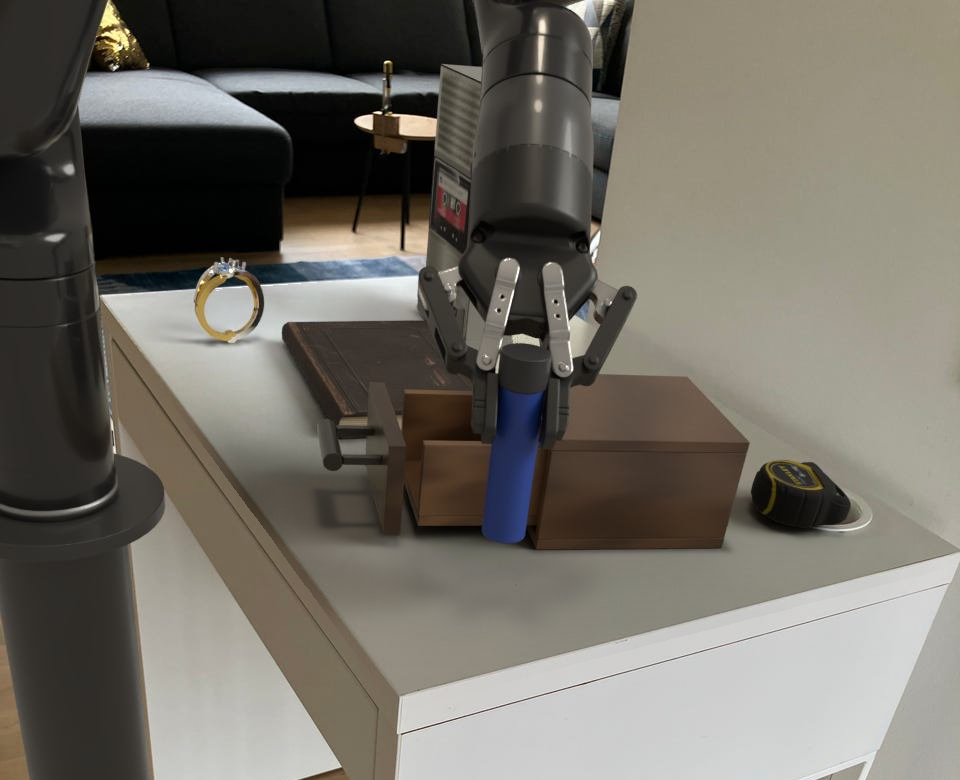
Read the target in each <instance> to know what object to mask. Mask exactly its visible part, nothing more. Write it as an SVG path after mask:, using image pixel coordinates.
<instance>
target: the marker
mask: <svg viewBox="0 0 960 780" xmlns="http://www.w3.org/2000/svg"><path fill="white" fill-rule="evenodd" d="M551 358H552V355H551V353H550V351H548V350H547V349H545V348H543V347H540V345H536V344H532V343H524V342H515V343H514V342H513V344H507V345H505V346H503V347H502V348H501V350H500V352H499V358H498V369H497V373H499V386H498V405H497V424H496V434H495V439H494V442H493V444H492V445H491V453H490V462H489V471H488V480H487V489H486V497H485V506H484V515H483V524H482V526H481V533H482V535H483V536H484V537H485V538H486V539H488V540H489V541H492V542H495V543H498V544H515V543H519V542H521V541H522V540H523V539H524V538H525V537H526V531H527V529H526V524H527V517H528V510H529V503H530V496H531V489H532V481H533V474H534V467H535V460H536V453H537V446H538V439H539V432H540V424H541V417H542V410H543V403H544V396H545V390H546V389H547V385H548V379H549V373H550V365H551Z"/></svg>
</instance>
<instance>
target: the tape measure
mask: <svg viewBox="0 0 960 780" xmlns="http://www.w3.org/2000/svg"><path fill="white" fill-rule="evenodd" d="M750 495H751V501H752V505H753V506H754V507H755V508H756V510H757V511H759V512H760V513H761V514H763V515H764V516H765V517H766V518H768V519H770V520H772V521H775V522H776V523H778V524H782V525H786V526H788V527H789V526H790V527H795V528H801V529H806V528H807V529H808V528H816V527H822V526H834V525H838V524H841V523H843V522H844V521H846V520H847V518H848V515H849V513H850V510H851V508H852V503H851V500H850V498H849V497H848V495H847V494H846V493H845V491H844V490H843V489H842V488H841V487H839V486H838V485H837V484H836V483H835V482H834V481H833V480H832V479H831V478H830V477H829V475H828V474H826V473H825V472H824V471H823V470H822V469H821V467H820V466H819V465H818V464H817V463H815V462H813V461H803V462H797V461H793V460H789V459H775V460H772V461H771V460H770V461H768V462H765V463H764V464H762V466H761V467H760V468H759V470H758V471H757V472H756V473H755V475H754V478H753V481H752V484H751V489H750Z"/></svg>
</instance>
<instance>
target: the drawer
mask: <svg viewBox="0 0 960 780" xmlns="http://www.w3.org/2000/svg"><path fill="white" fill-rule="evenodd" d="M472 396H473V391H450V390H410V389H404V393H403V408H402V423H401V429H400V426H399V423H398V420H397V417H396V414H395V412H394V409H393V406H392V403H391V400H390V397H389V394H388V391H387V388H386V385H385V382H369V396H368V417H367V426H361V425H336V426H335V423H334V422H333V421H332V420H330V419H329V418H323V419H321V420H319V421H318V422H317V424H316V432H317V437H318V438H317V439H318V443H319V449H320V453H321V459H322V464H323V467H324V468H325V469H326V470H327V471H330V472H336V471H339V470H340V469H341V468H342V467H343V466H365V468H366V473H367V476H368V480H369V484H370V488H371V492H372V496H373V500H374V504H375V507H376V512H377V516H378V519H379V524H380V527H381V532H382V535H383V536H400V535H401V527H402V513H403V501H404V486H405V489H406V492H407V496H408V498H409V502H410V505H411V508H412V511H413V514H414V517H415V522H416V524H417V526H418V527H448V526H449V527H457V526H459V527H460V526H461V527H463V526H465V527H468V526H469V527H473V526H476V527H477V526H481V527H482V524H483V515H484V506H485V497H486V489H487V480H488V471H489V462H490V453H491V445H492V444H481V436H482V434H476V433H473V430H472V427H471V413H472ZM339 435H346V436H367V438H365V441H366V442H365V454H364V453H362V454H357V453H344V454H343V453H342V450H341V449H342V448H341V445H340V439H339ZM547 455H548V449H541V431H540V432H539V439H538V446H537V453H536V460H535V467H534V474H533V481H532V489H531V496H530V503H529V510H528V517H527V524H526V525H537V520H538V514H539V507H540V501H541V494H542V487H543V481H544V474H545V468H546V461H547Z"/></svg>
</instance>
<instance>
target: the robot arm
mask: <svg viewBox="0 0 960 780" xmlns="http://www.w3.org/2000/svg"><path fill="white" fill-rule="evenodd" d="M471 1H472V6H473V9H474V15H475V21H476V26H477V30H478V31H477V32H478V36H479V43H480V49H481V50H480V51H481V60H482V61H481V62H482V64H481V67H482V75H481V92H480V108H479V116H478V121H477V125H476V130H475V136H474V143H473V157H472V162H471V166H470V175H471V191H470V207H469V224H468V240H467V248H466V250H465V252H464V253H463V255H462V256H461V258H460V260H459V263H458V266H456V267H453V268H449V269H446V270H443V271H439V272H437V270H436V269H435V268H433V267H426V266H424V267H422V268H421V269H420V270H419V272H418V276H417V293H416V295H417V301H418V300H419V303H420V306H421V308H422V311H423V313H424V316H425V317H424V316H423V317H424V318H425V320H426V321H427V323H428V326H429V329H430V331H431V334H432V336H433V339H434V341H435V344H436V346H437V349H438V351H439V354H440V357H441V359H442V362H443V364H444V367H445V369H446V371H447V372H449V373H450V374H461V375H464V376H466V377H467V378H469V379H470V381H471V382H472V385H473V396H472V413H471V427H472V430H473V433H476V434H482V436H481V444H493V442H494V439H495V434H496V424H497V405H498V386H499V373H498V372H497V364H498V361H499V357H500V348H501V344H502V340H503V336H504V335H505V336H512V337H513V336H517V335H518V336H519V335H525V336H527V337H530V338H532V339H538V342H539V346H540V347H543V348H545V349H547V350H548V351H550V353H551V355H552V358H551V365H550V373H549V379H548V385H547V389H546V390H545V396H544V403H543V410H542V424H541V449H553V447H554V445H555V443H556V440H558V441H561V440H562V438H563V436H564V434H565V432H566V429H567V427H568V425H569V406H570V388H572V387H574V386H577V385H582V386H590V385H592V384H593V383H594V382H595V380H596V378H597V376H598V374H600V372H601V370H602V368H603V366H604V365H605V363H606V360H607V359H608V357H609V355H610V353H611V351H612V349H613V347H614V345H615V343H616V342H617V339H618V337H619V335H620V333H621V332H622V330H623V327H624V326H625V324H626V322H627V320H628V318H629V316H630V314H631V312H632V310H633V308H634V305H635V303H636V301H637V299H638V293H637V291H636V289H635V288H634V287H633V286H630V285H623V286H621V287H620V288H619V289H617V288H615V287H613V286H612V285H610V284H608V283H606V282H605V281H602V280H600V279H599V278H598V276H599V275H598V271H597V268H596V266H595V265H594V262H593V261H592V257H591V238H592V237H591V234H592V233H591V232H592V208H593V206H592V205H593V183H594V181H593V180H594V179H593V178H594V153H595V152H594V151H595V150H594V149H595V147H594V145H595V144H594V134H593V133H594V132H593V123H592V100H593V99H592V97H593V69H594V49H593V40H592V36H591V32H590V30H589V28H588V26H587V24H586V22H585V21H584V19H582V17H581V16H580V15H579V14H577V13H576V12H575V11H574V10H572V9H570V8H568V7H569V6H572V5H574V4H578V3H581V2H584V1H585V0H471ZM108 2H109V0H0V515H3V516H5V517H8V518H12V519H16V520H22V521H29V522H59V521H67V520H73V519H78V518H82V517H86V516H89V515H92V514H94V513H97V512H99V511H101V510H103V509H105V508H106V507H108V506H109V505H110V504H111V503H112V502H113V501H114V500H115V499H116V497H117V495H118V490H119V489H118V479H117V476H116V466H115V462H114V453H115V452H114V447H115V435H114V434H115V433H114V430H113V429H112V421H111V411H110V410H111V409H110V400H109V390H108V389H109V388H108V380H107V379H108V378H107V370H106V369H107V368H106V359H105V347H104V340H103V339H104V338H103V327H102V326H103V325H102V317H101V315H102V314H101V307H100V297H99V286H98V275H97V265H96V264H97V263H96V256H95V254H96V253H95V246H94V245H95V244H94V232H93V223H92V216H91V215H92V214H91V209H90V199H89V193H88V185H87V180H86V179H87V178H86V170H85V162H84V161H85V159H84V149H83V141H82V140H83V139H82V128H81V119H80V110H79V109H80V107H79V103H80V99H81V95H82V91H83V87H84V83H85V81H86V75H87V72H88V69H89V65H90V61H91V57H92V55H93V51H94V47H95V44H96V40H97V36H98V33H99V30H100V27H101V24H102V22H103V18H104V15H105V11H106V8H107V5H108ZM460 287H461V288H462V289H463V291H464V292H465V294H466V295H467V297H468V298H469V300H470V301H471V303H472V304H473V305H474V307H475V308H476V310H477V311H478V313H479V314H480V316H481V317H482V319H483V320H484V322H485V326H484V330H483V335H482V339H481V343H480V347H479V351H478V350H476V349H474V348H472V347H469V346H467V344H466V342H465V339H464V337H463V334H462V332H461V329H460V327H459V324H458V322H457V319H456V317H455V314H454V312H453V309H452V308H453V307H454V305H455V302H456V295H457V292H456V290H457V289H458V288H460ZM589 300H590V301H591V302H592V304H593V305H594V310H593V319H594V321H595V322H596V323H597V324H599V325H598V328H597V330H596V332H595V334H594V335H593V338H592V340H591V342H590V344H589V346H588V347H587V349H586V351H585V353H584V354H583V355H579V356H575V357H573V356H572V349H571V341H570V340H571V339H570V336H571V328H570V321H571V320H572V319H573V318H574V317H575V316H576V314H577V313H578V312H579V311H581V308H582V307H583V306H585V304H586V303H587V302H588V301H589Z"/></svg>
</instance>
